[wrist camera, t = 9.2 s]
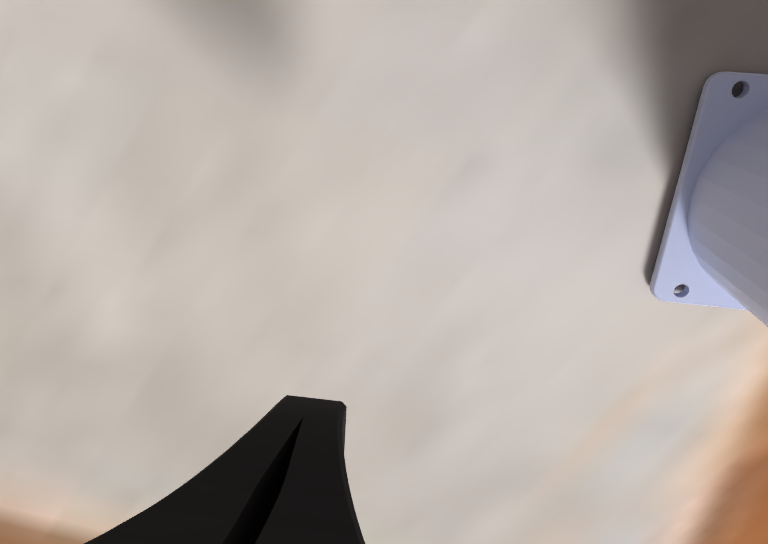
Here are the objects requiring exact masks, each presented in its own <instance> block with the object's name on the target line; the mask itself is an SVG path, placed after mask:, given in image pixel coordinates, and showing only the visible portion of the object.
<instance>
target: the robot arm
mask: <svg viewBox="0 0 768 544" xmlns="http://www.w3.org/2000/svg"><path fill="white" fill-rule="evenodd" d="M738 81H741V82H742V83H743V91H742V93H741V94H740V95H738V96H737V97H734V96H733V95H732V88H733V86H734V84H736V83H737V82H738ZM681 284H684V285H685V288H684V290H683V291H682V292H680V293H674V289H675V287H676V286H678V285H681ZM650 291H651V293H652V294H653V296H654V297H655V298H657V299H658V300H661V301H665V302H675V303H684V304H694V305H703V306H713V307H722V308H732V309H741V310H749V311H750V312H751V313H752V314H753V315H754V316H756V317H757V318H758V319H759V320H760V321H761V322H763V323H764V324H765V325H766V326H767V327H768V74H755V73H741V72H727V71H723V72H717V73H715V74H713V75H711V76H710V77H709V78H708V79H707V80H706V82H705V84H704V86H703V90H702V93H701V97H700V101H699V104H698V108H697V112H696V116H695V119H694V123H693V127H692V130H691V134H690V138H689V142H688V145H687V149H686V153H685V156H684V160H683V164H682V168H681V171H680V175H679V179H678V182H677V186H676V190H675V194H674V197H673V201H672V205H671V208H670V212H669V216H668V220H667V223H666V227H665V231H664V234H663V238H662V242H661V246H660V249H659V253H658V257H657V260H656V264H655V268H654V272H653V275H652V279H651V283H650ZM345 424H346V406H345V405H344V404H343V402H341V401H332V400H324V399H315V398H306V397H298V396H289V395H287V396H285V397H284V398H283V399H282V400H281V401H280V402H279V403H277V404H276V405H275V406H274V407H273V408H272V409H271V410H270V411H269V412H268V413H267V414H266V415H265V416H264V417H263V418H262V419H261V420H260V421H259V422H258V423H257V424H256V425H255V426H254V427H253V428H251V429H250V430H249V431H248V432H247V433H246V434H245V435H244V436H243V437H241V438H240V439H239V440H238V441H237V442H236V443H235V444H234V445H232V446H231V447H230V448H229V449H228V450H227V451H226V452H224V453H223V454H222V455H221V456H220V457H218V458H217V459H216V460H215V461H213V462H212V463H211V464H210V465H208V466H207V467H206V468H205V469H203V470H202V471H201V472H199V473H198V474H197V475H196V476H194V477H193V478H192V479H190V480H189V481H188V482H186V483H185V484H184V485H182V486H181V487H179V488H178V489H177V490H175V491H174V492H172V493H171V494H169V495H168V496H166V497H165V498H163V499H162V500H160V501H159V502H157V503H156V504H154V505H153V506H151V507H149V508H148V509H146V510H144V511H143V512H141V513H139V514H137V515H136V516H134V517H132V518H130V519H129V520H127V521H125V522H123V523H122V524H120V525H118V526H116V527H115V528H113V529H111V530H109V531H108V532H106V533H104V534H102V535H100V536H98V537H96V538H94V539H92V540H90V541H88V542H86V543H84V544H365V542H364V539H363V536H362V533H361V530H360V526H359V523H358V520H357V517H356V513H355V509H354V505H353V501H352V497H351V493H350V488H349V484H348V478H347V473H346V466H345V459H344V444H345Z"/></svg>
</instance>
